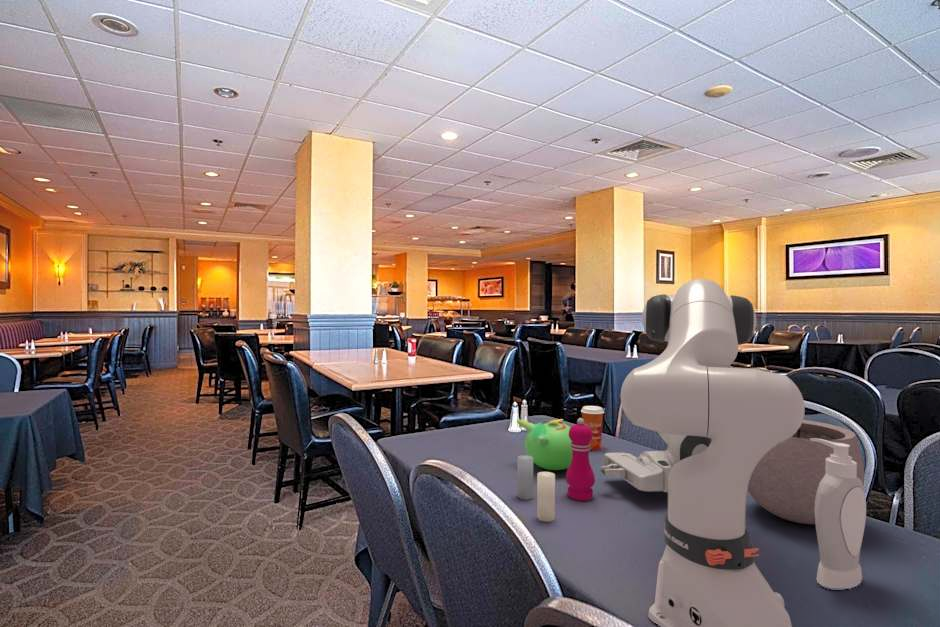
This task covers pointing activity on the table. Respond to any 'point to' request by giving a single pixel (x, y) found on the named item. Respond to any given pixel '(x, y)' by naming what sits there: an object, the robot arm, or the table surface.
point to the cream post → (546, 496)
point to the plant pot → (799, 470)
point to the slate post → (525, 477)
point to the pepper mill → (580, 463)
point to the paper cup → (594, 424)
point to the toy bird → (548, 444)
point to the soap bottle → (839, 519)
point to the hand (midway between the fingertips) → (603, 471)
